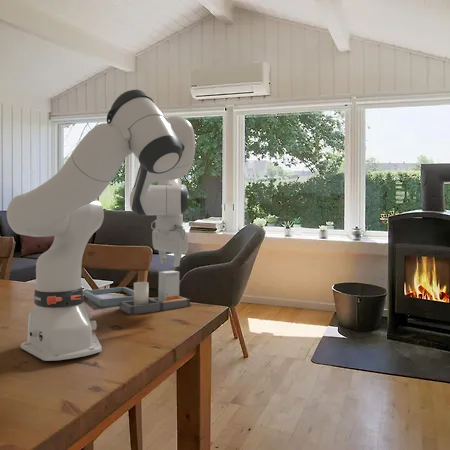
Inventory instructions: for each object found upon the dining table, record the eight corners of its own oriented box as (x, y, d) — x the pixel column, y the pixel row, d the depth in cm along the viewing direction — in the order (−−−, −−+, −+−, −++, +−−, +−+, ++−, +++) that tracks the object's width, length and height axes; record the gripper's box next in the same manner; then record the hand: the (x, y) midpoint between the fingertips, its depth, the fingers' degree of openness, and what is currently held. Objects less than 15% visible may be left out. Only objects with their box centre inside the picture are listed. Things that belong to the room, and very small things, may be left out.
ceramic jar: (151, 310, 150) (150, 283, 150) (137, 312, 148) (137, 284, 147) (144, 307, 154) (144, 281, 154) (131, 309, 152) (131, 282, 151)
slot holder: (190, 306, 156) (190, 298, 156) (130, 314, 144) (130, 305, 144) (177, 302, 164) (177, 294, 164) (119, 309, 152) (119, 300, 152)
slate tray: (145, 303, 161) (145, 294, 161) (101, 308, 153) (101, 299, 152) (124, 294, 178) (124, 286, 178) (83, 298, 169) (83, 290, 169)
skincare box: (165, 308, 153) (165, 273, 152) (158, 306, 156) (158, 271, 156) (179, 306, 157) (179, 271, 157) (172, 304, 160) (172, 270, 160)
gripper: (192, 225, 148) (192, 267, 149) (165, 223, 166) (165, 261, 166) (175, 225, 145) (175, 269, 146) (149, 223, 162) (149, 262, 163)
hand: (169, 264), depth 156 cm, fingers open, 8 cm apart
